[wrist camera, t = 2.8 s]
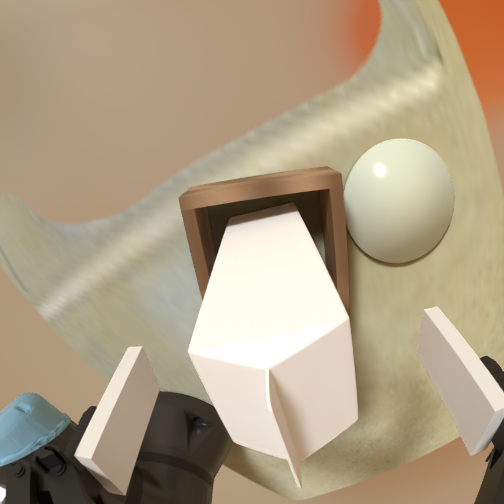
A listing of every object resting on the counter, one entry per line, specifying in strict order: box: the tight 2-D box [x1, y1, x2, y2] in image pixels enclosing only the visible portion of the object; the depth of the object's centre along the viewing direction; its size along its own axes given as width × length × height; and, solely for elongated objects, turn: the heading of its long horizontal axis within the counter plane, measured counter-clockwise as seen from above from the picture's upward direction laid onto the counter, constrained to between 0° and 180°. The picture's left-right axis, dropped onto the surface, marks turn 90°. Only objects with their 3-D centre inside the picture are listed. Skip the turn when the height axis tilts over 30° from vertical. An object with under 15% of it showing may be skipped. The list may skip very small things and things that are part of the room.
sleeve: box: [179, 167, 350, 316], centre depth 27 cm, size 12×12×5 cm
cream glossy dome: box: [343, 138, 455, 263], centre depth 28 cm, size 12×12×1 cm
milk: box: [188, 202, 358, 488], centre depth 19 cm, size 6×6×22 cm
